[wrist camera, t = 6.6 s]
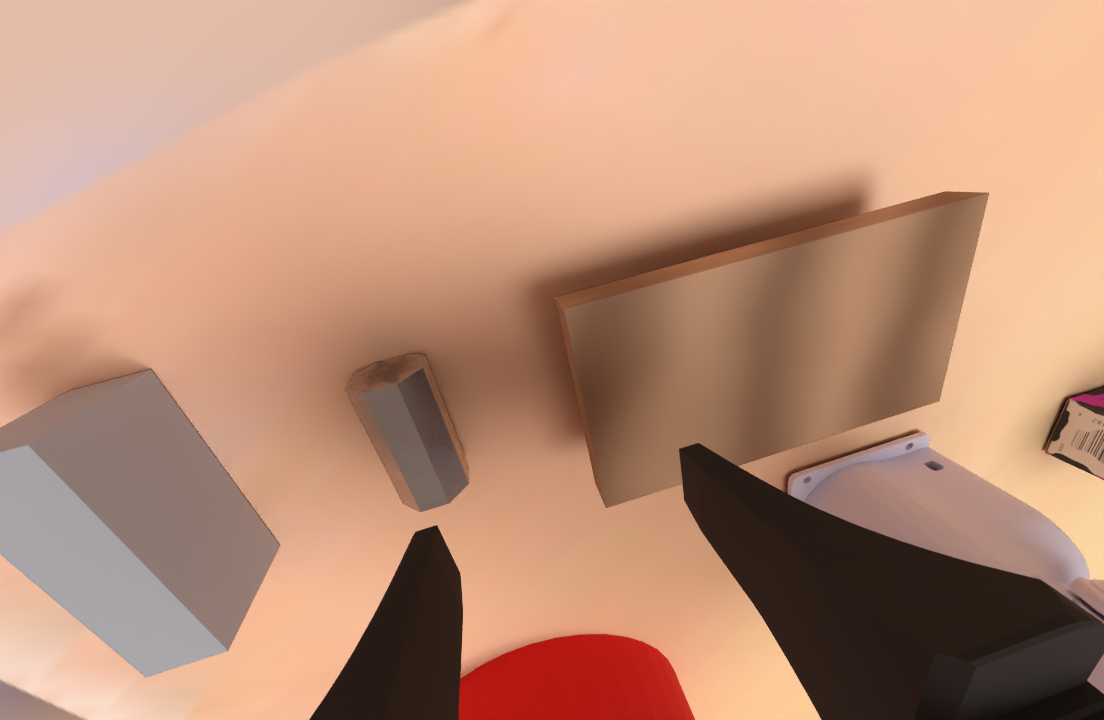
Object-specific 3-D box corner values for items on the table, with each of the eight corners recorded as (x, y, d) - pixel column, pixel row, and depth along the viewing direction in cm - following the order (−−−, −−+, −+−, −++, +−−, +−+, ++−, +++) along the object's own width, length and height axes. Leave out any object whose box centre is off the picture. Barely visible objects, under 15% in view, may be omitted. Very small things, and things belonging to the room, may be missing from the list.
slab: (945, 191, 16) (989, 192, 15) (907, 386, 20) (939, 401, 19) (554, 297, 15) (563, 309, 13) (595, 484, 19) (606, 508, 17)
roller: (427, 347, 18) (420, 377, 15) (468, 454, 20) (469, 497, 18) (357, 366, 18) (338, 400, 15) (408, 472, 20) (400, 518, 17)
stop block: (151, 369, 16) (27, 444, 11) (280, 545, 20) (227, 651, 16) (68, 390, 16) (-92, 477, 11) (217, 564, 20) (146, 677, 15)
